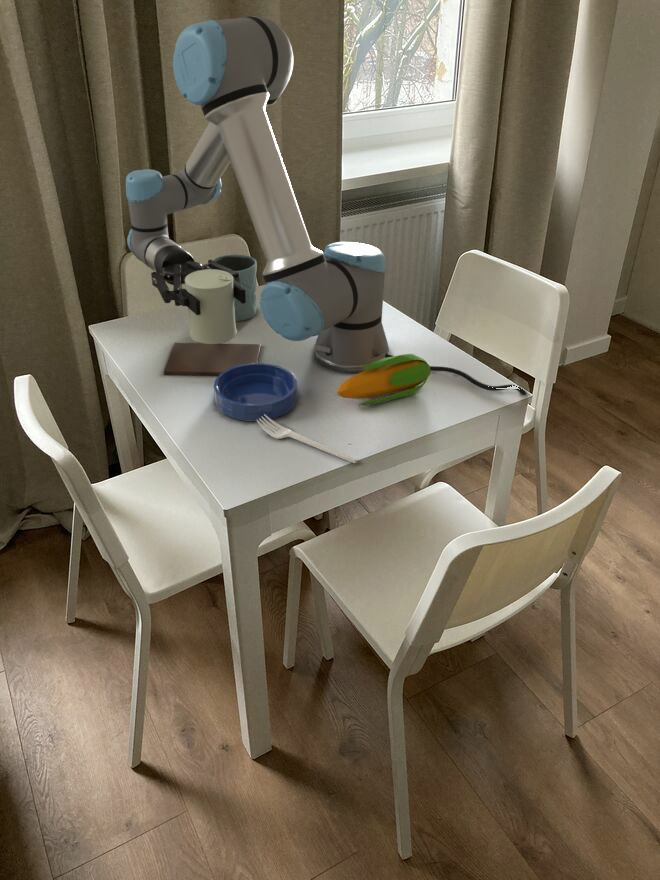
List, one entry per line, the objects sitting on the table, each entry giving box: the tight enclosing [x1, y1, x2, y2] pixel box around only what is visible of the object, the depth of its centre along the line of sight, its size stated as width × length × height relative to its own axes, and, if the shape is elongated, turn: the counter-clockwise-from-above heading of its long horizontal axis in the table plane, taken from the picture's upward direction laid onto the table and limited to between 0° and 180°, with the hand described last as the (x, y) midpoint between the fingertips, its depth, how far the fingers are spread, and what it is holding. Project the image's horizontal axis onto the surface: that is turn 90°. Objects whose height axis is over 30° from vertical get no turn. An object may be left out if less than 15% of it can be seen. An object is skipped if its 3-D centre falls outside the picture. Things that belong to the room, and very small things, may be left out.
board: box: [163, 342, 262, 377], centre depth 151 cm, size 18×12×1 cm, turn 89°
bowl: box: [213, 362, 298, 422], centre depth 139 cm, size 15×15×4 cm
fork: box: [256, 414, 358, 464], centre depth 128 cm, size 3×20×2 cm, turn 56°
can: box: [184, 269, 238, 344], centre depth 144 cm, size 9×9×12 cm
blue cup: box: [213, 253, 258, 322], centre depth 167 cm, size 10×10×12 cm
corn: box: [336, 353, 431, 407], centre depth 139 cm, size 7×8×20 cm
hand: (221, 302), depth 140 cm, fingers closed on can, 9 cm apart
